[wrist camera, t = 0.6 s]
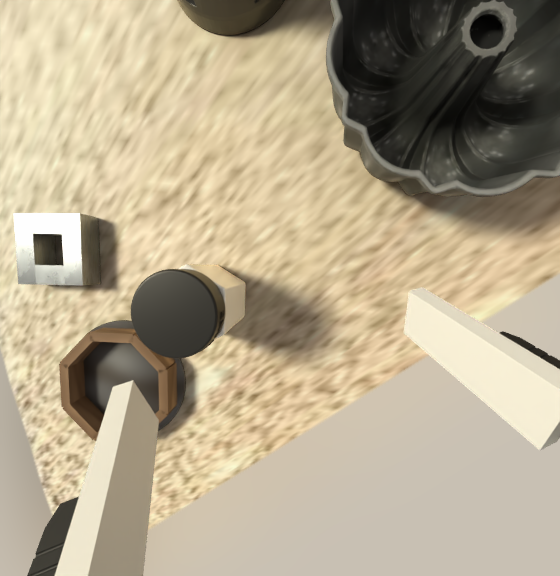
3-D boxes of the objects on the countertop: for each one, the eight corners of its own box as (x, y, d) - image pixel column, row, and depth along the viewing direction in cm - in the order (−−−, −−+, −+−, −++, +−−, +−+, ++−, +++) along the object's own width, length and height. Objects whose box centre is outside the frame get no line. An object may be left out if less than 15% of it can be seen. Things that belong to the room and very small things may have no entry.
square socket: (37, 217, 36) (13, 213, 33) (98, 217, 35) (79, 213, 32) (41, 282, 37) (18, 283, 34) (100, 283, 36) (82, 285, 33)
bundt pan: (554, 202, 31) (675, 171, 21) (329, 229, 33) (340, 213, 23) (548, -42, 29) (678, -205, 19) (308, 6, 31) (311, -115, 21)
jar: (203, 339, 36) (153, 376, 24) (174, 287, 35) (109, 297, 24) (260, 310, 35) (238, 333, 23) (231, 255, 34) (193, 250, 22)
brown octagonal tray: (69, 318, 37) (49, 322, 34) (184, 322, 36) (174, 327, 33) (75, 431, 39) (56, 444, 36) (186, 440, 37) (176, 454, 34)
